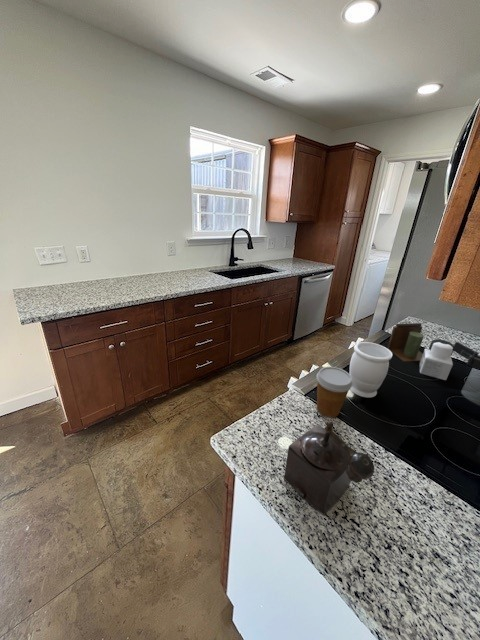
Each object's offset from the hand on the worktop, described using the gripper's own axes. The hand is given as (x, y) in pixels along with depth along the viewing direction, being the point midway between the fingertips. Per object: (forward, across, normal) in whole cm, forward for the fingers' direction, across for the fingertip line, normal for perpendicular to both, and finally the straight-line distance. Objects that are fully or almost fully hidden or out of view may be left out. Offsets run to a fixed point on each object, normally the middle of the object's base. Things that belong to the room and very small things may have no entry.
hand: (474, 345), depth 79 cm
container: (+10, 0, -18) cm, 20 cm away
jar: (+4, -30, -18) cm, 35 cm away
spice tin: (+21, 0, -16) cm, 27 cm away
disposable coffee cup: (-4, -45, -18) cm, 49 cm away
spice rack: (+22, 0, -17) cm, 28 cm away
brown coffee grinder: (-27, -56, -18) cm, 64 cm away
